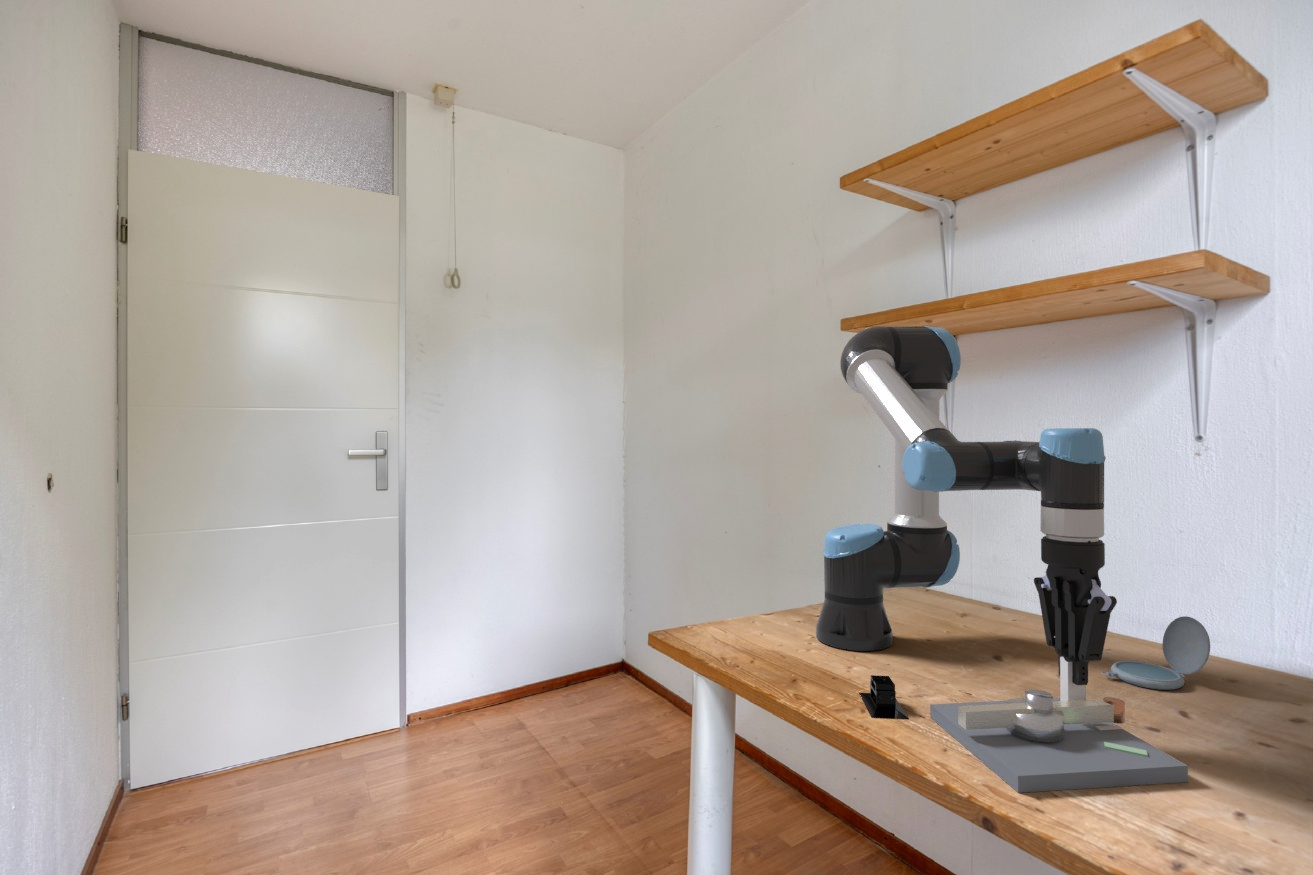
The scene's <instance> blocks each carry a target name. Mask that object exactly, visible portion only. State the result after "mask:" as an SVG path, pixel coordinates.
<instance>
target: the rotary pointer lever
mask: <svg viewBox="0 0 1313 875" xmlns="http://www.w3.org/2000/svg"><path fill="white" fill-rule="evenodd" d="M1024 692H1025V693H1024V694H1025V695H1024V698H1023V697H1022V698H1021V697H1020V698H1019V697H1018V698H1017V697H1015V698H1009V699H1007V700H1004V701H1005V702H1004V704H992V705H972V706H958V724H959V725H960V726H962V727H963V728H964V729H965V730H974V729H993V728H1006V729H1007V730H1009V731H1010V732H1011V733H1013V734H1015V735H1017V736H1020V737H1023V738H1026V739H1029V740H1034V741H1040V742H1057V741H1060V740H1062V739H1063V738H1064V725H1068V724H1086V723H1105V722H1111V723H1113V724H1125V722H1126V715H1125V714H1126V705H1125V704H1126V702H1125V701H1124V700H1123V699H1120V698H1116V697H1112V696H1105V697H1103V698H1095V699H1094V698H1093V699H1086V700H1072V701H1053V694H1051V693H1050V692H1047V691H1045V690H1040V689H1034V688H1033V689H1026V690H1025V691H1024Z"/></svg>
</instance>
